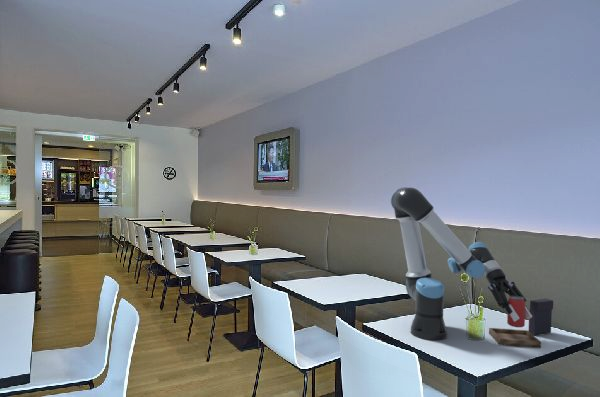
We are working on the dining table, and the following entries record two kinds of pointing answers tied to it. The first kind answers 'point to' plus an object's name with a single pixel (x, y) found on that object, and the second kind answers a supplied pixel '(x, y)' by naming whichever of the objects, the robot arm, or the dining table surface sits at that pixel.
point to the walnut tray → (514, 337)
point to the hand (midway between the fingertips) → (523, 319)
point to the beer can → (517, 311)
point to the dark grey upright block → (540, 316)
